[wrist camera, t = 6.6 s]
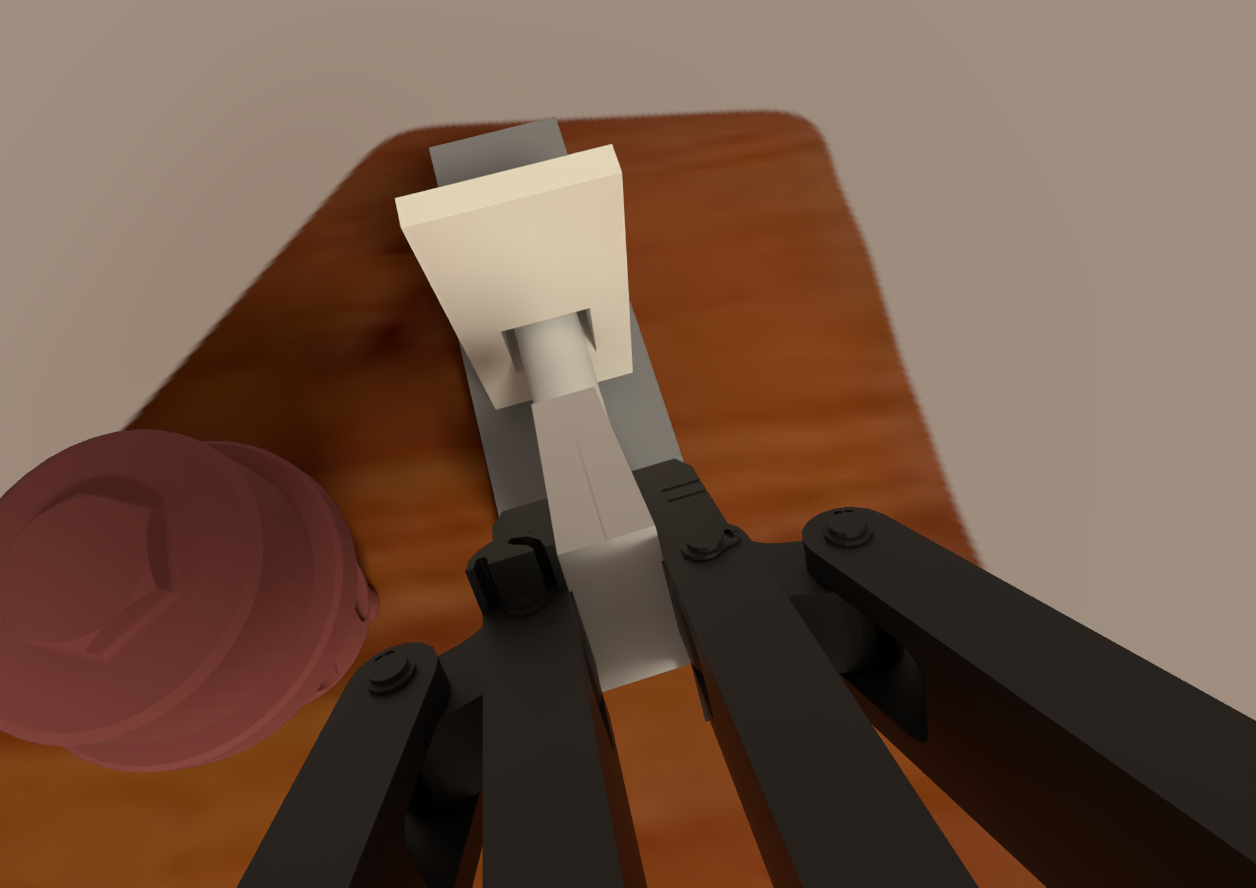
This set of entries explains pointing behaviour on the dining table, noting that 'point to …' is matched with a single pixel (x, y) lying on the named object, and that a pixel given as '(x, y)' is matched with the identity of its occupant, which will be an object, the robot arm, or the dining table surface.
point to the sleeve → (528, 261)
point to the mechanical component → (171, 599)
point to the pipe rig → (551, 347)
